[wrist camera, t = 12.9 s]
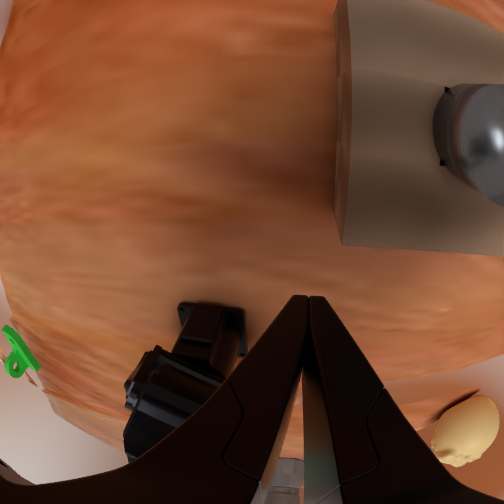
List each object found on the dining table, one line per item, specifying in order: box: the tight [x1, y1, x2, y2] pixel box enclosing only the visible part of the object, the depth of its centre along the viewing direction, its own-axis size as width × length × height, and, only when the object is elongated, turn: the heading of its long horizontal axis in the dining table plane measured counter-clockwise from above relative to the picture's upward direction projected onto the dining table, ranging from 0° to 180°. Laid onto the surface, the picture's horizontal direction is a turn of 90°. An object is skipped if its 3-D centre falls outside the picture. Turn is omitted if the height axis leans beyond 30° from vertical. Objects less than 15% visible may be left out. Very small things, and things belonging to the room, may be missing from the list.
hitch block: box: [333, 0, 504, 256], centre depth 12 cm, size 14×14×6 cm
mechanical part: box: [2, 325, 41, 378], centre depth 43 cm, size 12×6×8 cm, turn 0°
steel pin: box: [433, 84, 504, 206], centre depth 10 cm, size 5×5×8 cm
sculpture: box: [431, 395, 499, 467], centre depth 26 cm, size 11×12×11 cm
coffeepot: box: [264, 458, 304, 504], centre depth 40 cm, size 15×9×18 cm, turn 32°
